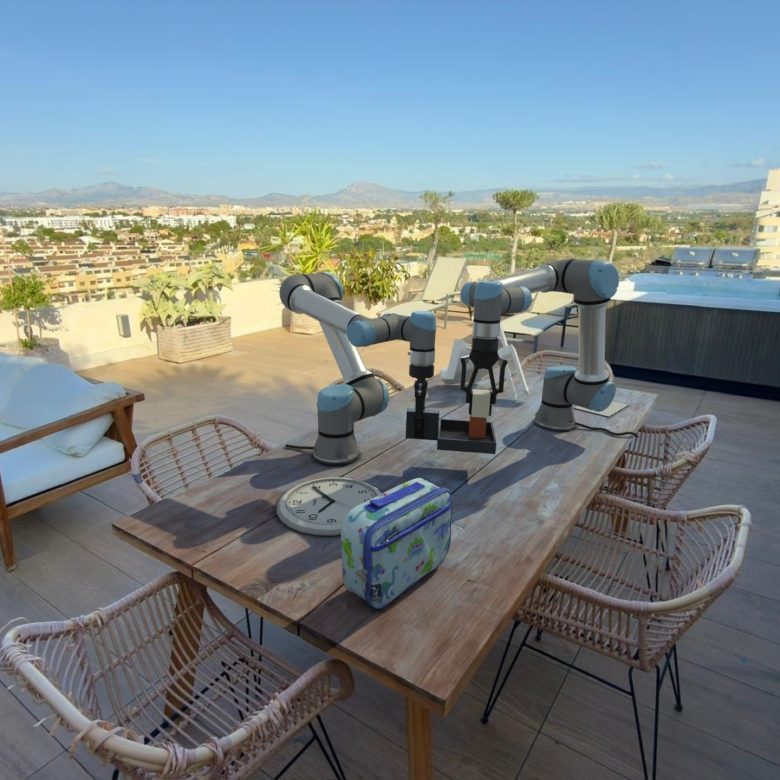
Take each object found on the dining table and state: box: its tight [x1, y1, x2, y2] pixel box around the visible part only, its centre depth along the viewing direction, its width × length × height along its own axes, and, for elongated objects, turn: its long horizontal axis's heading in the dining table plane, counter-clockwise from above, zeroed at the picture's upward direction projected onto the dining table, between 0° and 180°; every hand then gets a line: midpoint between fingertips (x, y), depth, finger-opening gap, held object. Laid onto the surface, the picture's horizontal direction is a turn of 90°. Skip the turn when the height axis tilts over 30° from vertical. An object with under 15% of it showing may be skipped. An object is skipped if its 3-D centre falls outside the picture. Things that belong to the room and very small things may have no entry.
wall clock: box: [276, 476, 383, 537], centre depth 142 cm, size 30×2×30 cm
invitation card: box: [573, 400, 629, 418], centre depth 226 cm, size 21×1×15 cm
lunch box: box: [340, 477, 452, 610], centre depth 110 cm, size 26×11×21 cm, turn 134°
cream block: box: [471, 388, 491, 419], centre depth 154 cm, size 5×5×7 cm
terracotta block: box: [468, 415, 488, 438], centre depth 165 cm, size 5×5×7 cm
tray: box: [405, 407, 497, 455], centre depth 162 cm, size 27×17×9 cm, turn 83°
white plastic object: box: [438, 320, 531, 400], centre depth 245 cm, size 37×45×31 cm
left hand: (419, 435), depth 164 cm, fingers closed on tray, 3 cm apart
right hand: (479, 413), depth 155 cm, fingers closed on cream block, 5 cm apart
